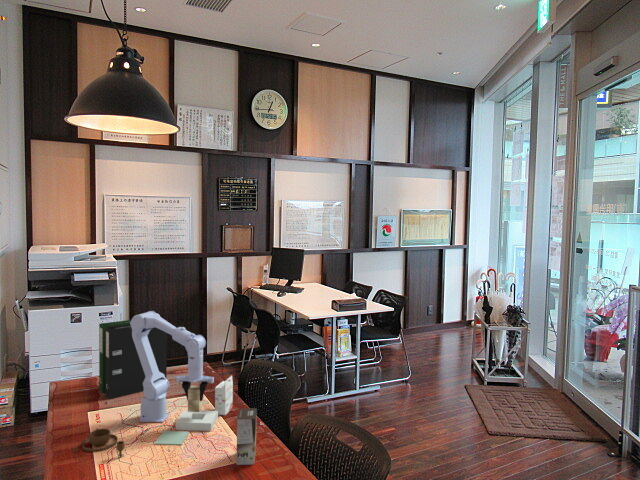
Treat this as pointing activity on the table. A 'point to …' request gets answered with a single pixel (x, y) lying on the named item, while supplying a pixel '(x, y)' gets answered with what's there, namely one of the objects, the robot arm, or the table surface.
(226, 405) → the ink cartridge box
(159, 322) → the robot arm
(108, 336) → the binder
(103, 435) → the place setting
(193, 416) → the pocket holder
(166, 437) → the rubber mat
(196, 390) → the maple peg
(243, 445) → the coffee box
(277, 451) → the table surface
